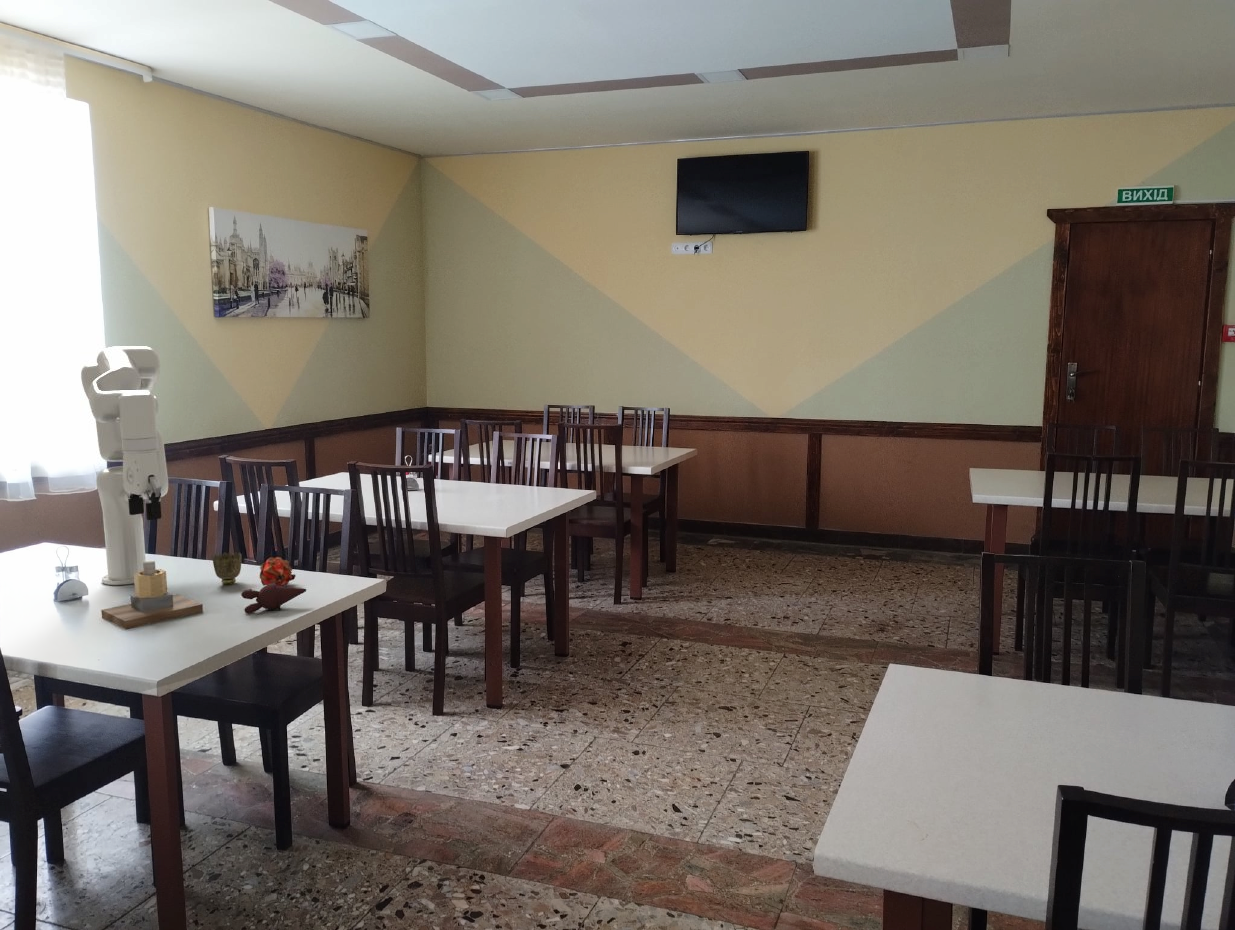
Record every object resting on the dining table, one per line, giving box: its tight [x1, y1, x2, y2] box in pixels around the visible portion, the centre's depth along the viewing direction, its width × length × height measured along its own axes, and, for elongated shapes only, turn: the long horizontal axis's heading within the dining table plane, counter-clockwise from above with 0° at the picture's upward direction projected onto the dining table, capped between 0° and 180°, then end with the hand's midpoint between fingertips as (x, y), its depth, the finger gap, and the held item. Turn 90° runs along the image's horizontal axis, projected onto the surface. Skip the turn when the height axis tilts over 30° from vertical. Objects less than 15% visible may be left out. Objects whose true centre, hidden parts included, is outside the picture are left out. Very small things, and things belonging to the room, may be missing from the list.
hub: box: [133, 568, 169, 599], centre depth 228 cm, size 6×6×6 cm
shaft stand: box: [100, 560, 204, 630], centre depth 228 cm, size 14×18×13 cm
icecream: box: [240, 582, 307, 614], centre depth 233 cm, size 7×7×15 cm
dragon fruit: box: [259, 557, 296, 587], centre depth 254 cm, size 8×8×12 cm
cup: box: [211, 552, 243, 586], centre depth 257 cm, size 8×7×8 cm
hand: (145, 516), depth 226 cm, fingers open, 9 cm apart
